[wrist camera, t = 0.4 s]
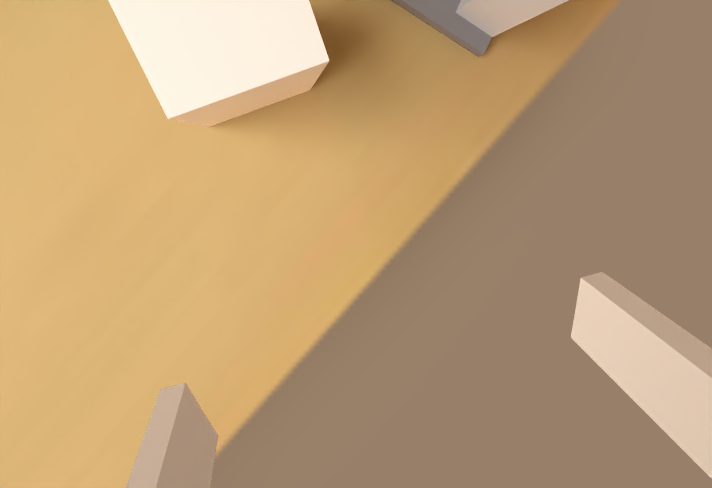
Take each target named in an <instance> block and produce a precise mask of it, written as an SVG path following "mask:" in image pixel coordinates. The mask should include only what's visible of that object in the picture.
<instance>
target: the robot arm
mask: <svg viewBox="0 0 712 488" xmlns="http://www.w3.org/2000/svg"><path fill="white" fill-rule="evenodd" d="M571 338H572V339H573V340H574V341H575V342H576V343H577V344H578V345H579V346H580V347H581V348H582V349H583V350H584V351H585V352H586V353H587V354H588V355H589V356H590V357H591V358H592V359H593V360H594V361H595V362H596V363H597V364H598V365H599V366H600V367H601V368H602V369H603V370H604V371H605V372H606V373H607V374H608V375H609V376H610V377H611V378H612V379H613V380H614V381H615V382H616V383H617V384H618V385H619V386H620V387H621V388H622V389H623V390H624V391H625V392H626V393H627V394H628V395H629V396H630V397H631V398H632V399H633V400H634V401H635V402H636V403H637V404H638V405H639V406H640V407H641V408H642V409H643V410H644V411H645V412H646V413H647V414H648V415H649V416H650V417H651V418H652V419H653V420H654V421H655V422H656V423H657V424H658V425H659V426H660V427H661V428H662V429H663V430H664V431H665V432H666V433H667V434H668V435H669V436H670V437H671V438H672V439H673V440H674V441H675V442H676V443H677V444H678V445H679V446H680V447H681V448H682V449H683V450H684V451H685V452H686V453H687V454H688V455H689V456H690V457H691V458H692V459H693V460H694V461H695V462H696V463H697V464H698V465H699V466H700V467H701V468H702V469H703V470H704V471H705V472H706V473H707V474H708V475H709V476H710V477H711V478H712V349H711V348H710V347H708V346H707V345H705V344H704V343H703V342H701V341H700V340H698V339H697V338H696V337H694V336H693V335H691V334H689V332H687V331H686V330H684V329H683V328H681V327H680V326H678V325H677V324H676V323H674V322H673V321H671V320H670V319H668V318H667V317H666V316H664V315H663V314H661V313H660V312H659V311H657V310H656V309H654V308H653V307H651V306H650V305H649V304H647V303H646V302H644V301H643V300H641V299H640V298H639V297H637V296H636V295H634V294H633V293H632V292H630V291H629V290H627V289H626V288H624V287H623V286H621V285H620V284H619V283H617V282H616V281H614V280H613V279H612V278H610V277H608V276H607V275H606V274H604V273H603V272H600V273H597V274H593V275H589V276H585V277H582V278H581V281H580V287H579V292H578V298H577V304H576V311H575V316H574V322H573V329H572V334H571ZM217 439H218V435H217V433H216V431H215V430H214V428H213V426H212V425H211V423H210V422H209V420H208V418H207V417H206V415H205V414H204V412H203V410H202V409H201V407H200V405H199V404H198V402H197V401H196V399H195V397H194V396H193V394H192V393H191V391H190V389H189V388H188V386H187V384H186V383H183V384H179V385H175V386H171V387H168V388H164V389H160V392H159V395H158V398H157V400H156V403H155V406H154V409H153V412H152V415H151V417H150V420H149V423H148V426H147V429H146V432H145V435H144V437H143V440H142V443H141V446H140V449H139V452H138V455H137V457H136V460H135V463H134V466H133V469H132V472H131V475H130V477H129V480H128V483H127V486H126V488H210V483H211V476H212V470H213V464H214V458H215V451H216V445H217Z"/></svg>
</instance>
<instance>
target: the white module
mask: <svg viewBox="0 0 712 488" xmlns="http://www.w3.org/2000/svg"><path fill="white" fill-rule="evenodd" d="M108 1H109V3H110V5H111V7H112V9H113V11H114V13H115V15H116V17H117V19H118V21H119V23H120V25H121V27H122V29H123V31H124V33H125V35H126V37H127V39H128V41H129V43H130V45H131V47H132V49H133V50H134V52H135V54H136V56H137V58H138V60H139V62H140V64H141V66H142V68H143V70H144V72H145V74H146V76H147V78H148V80H149V82H150V84H151V86H152V88H153V90H154V92H155V94H156V96H157V98H158V100H159V102H160V104H161V106H162V108H163V110H164V112H165V114H166V116H167V118H168V119H171V120H176V121H181V122H185V123H190V124H195V125H200V126H205V127H211V126H213V125H216V124H219V123H222V122H224V121H227V120H230V119H233V118H235V117H238V116H241V115H243V114H246V113H249V112H252V111H254V110H257V109H260V108H263V107H265V106H268V105H271V104H274V103H276V102H279V101H282V100H284V99H287V98H290V97H293V96H295V95H298V94H301V93H304V92H306V91H309V90H310V89H311V88H312V86H313V85H314V83H315V82H316V80H317V79H318V77H319V76H320V74H321V73H322V71H323V70H324V68H325V67H326V65H327V64H328V62H329V58H328V55H327V52H326V49H325V46H324V43H323V40H322V37H321V34H320V31H319V28H318V25H317V23H316V20H315V17H314V14H313V11H312V8H311V5H310V2H309V0H108Z"/></svg>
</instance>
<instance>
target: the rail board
mask: <svg viewBox="0 0 712 488" xmlns="http://www.w3.org/2000/svg"><path fill="white" fill-rule="evenodd" d="M392 1H393V2H395V3H396V4H398V5H399V6H401V7H402V8H404V9H405V10H407V11H409V12H410V13H412V14H413V15H415V16H416V17H418V18H419V19H421V20H422V21H424V22H426V23H427V24H429V25H430V26H432V27H433V28H435V29H436V30H438V31H439V32H441V33H443V34H444V35H446V36H447V37H449V38H450V39H452V40H453V41H455V42H456V43H458V44H460V45H461V46H463V47H464V48H466V49H467V50H469V51H470V52H472V53H473V54H475V55H477V56H481V55H483V54H484V53H485V51H486V49H487V47H488V45H489V43H490V41H491V39H492V37H491V36H490V35H488V34H487V33H485V32H484V31H482V30H481V29H479V28H478V27H476V26H475V25H473V24H472V23H470V22H469V21H467V20H466V19H464V18H463V17H461V16H460V15H459V14H457V13H456V10H457V8H458V6H459V4H460V1H461V0H392Z"/></svg>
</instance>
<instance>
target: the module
mask: <svg viewBox="0 0 712 488" xmlns="http://www.w3.org/2000/svg"><path fill="white" fill-rule="evenodd" d="M566 1H569V0H461V1H460V4H459V6H458V8H457V10H456V13H457V14H459V15H460V16H461V17H463V18H464V19H466V20H467V21H469V22H470V23H472V24H473V25H475V26H476V27H478V28H479V29H481V30H482V31H484V32H485V33H487V34H488V35H490V36H491V37H494V36H496V35H498V34H500V33H502V32H504V31H506V30H508V29H510V28H513V27H515V26H517V25H519V24H521V23H523V22H525V21H527V20H529V19H531V18H533V17H535V16H537V15H540V14H542V13H544V12H546V11H548V10H550V9H552V8H554V7H556V6H558V5H560V4H562V3H564V2H566Z"/></svg>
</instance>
